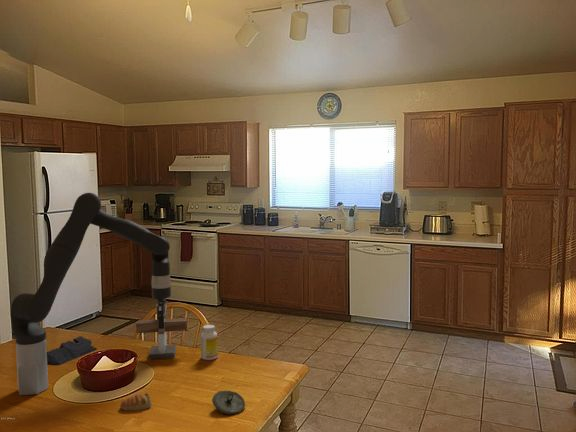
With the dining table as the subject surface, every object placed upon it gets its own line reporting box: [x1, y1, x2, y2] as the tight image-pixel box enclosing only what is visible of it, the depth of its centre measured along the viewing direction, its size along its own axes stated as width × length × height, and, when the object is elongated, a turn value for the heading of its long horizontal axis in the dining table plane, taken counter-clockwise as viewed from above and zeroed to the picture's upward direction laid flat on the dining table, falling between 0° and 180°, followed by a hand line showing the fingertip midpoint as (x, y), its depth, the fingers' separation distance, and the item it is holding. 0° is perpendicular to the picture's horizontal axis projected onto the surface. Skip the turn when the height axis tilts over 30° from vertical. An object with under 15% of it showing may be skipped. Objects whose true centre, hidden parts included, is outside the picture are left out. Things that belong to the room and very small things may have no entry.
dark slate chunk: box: [47, 335, 97, 366], centre depth 201 cm, size 15×22×5 cm
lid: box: [211, 390, 246, 416], centre depth 154 cm, size 11×10×5 cm
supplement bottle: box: [200, 324, 219, 361], centre depth 197 cm, size 7×7×13 cm
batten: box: [135, 317, 188, 334], centre depth 200 cm, size 4×20×4 cm, turn 99°
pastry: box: [119, 392, 152, 412], centre depth 155 cm, size 9×7×4 cm
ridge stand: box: [148, 332, 177, 360], centre depth 201 cm, size 10×10×10 cm
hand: (162, 326), depth 200 cm, fingers open, 4 cm apart
